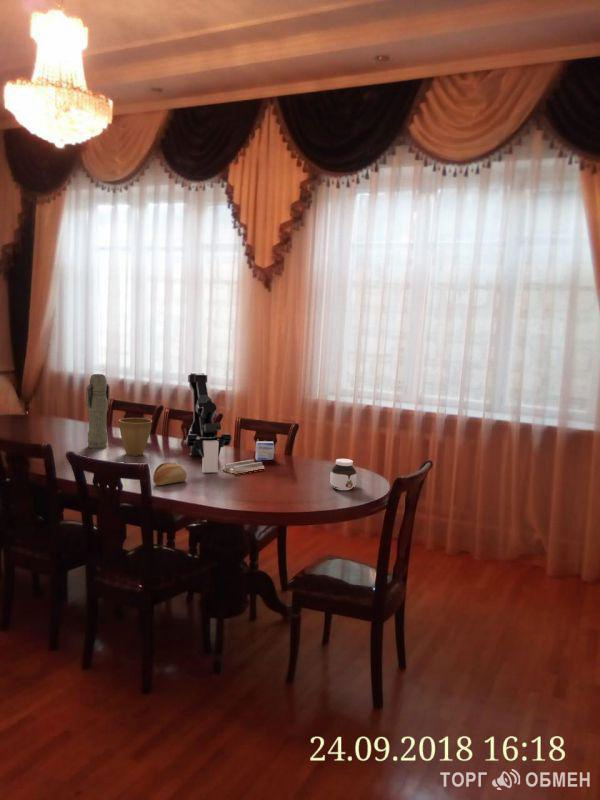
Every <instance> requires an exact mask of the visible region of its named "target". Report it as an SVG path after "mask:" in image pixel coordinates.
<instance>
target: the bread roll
mask: <svg viewBox="0 0 600 800" xmlns="http://www.w3.org/2000/svg"><path fill="white" fill-rule="evenodd" d="M187 475H188V474H187V472H186V470H185V468H184V467H183V466H182V465H180V464H178V463H176V462H163V463H161V464H159V465H158V466H157V467H156V468H155V470H154V472H153V475H152V476H153V477H152V478H153V479H152V480H153V484H154V485H157V486H164V485H169V484H175V483H182V482H185V481H186V480H187V477H188V476H187Z"/></svg>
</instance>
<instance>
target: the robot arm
mask: <svg viewBox="0 0 600 800" xmlns="http://www.w3.org/2000/svg"><path fill="white" fill-rule="evenodd" d="M187 383H189V388H190V390H192V406H193V407H192V411H193V412H192V413H193V415H192V416H193V417H192V419H193V421H192V424H191V426H190V428H189V430H188V434H187V435H186V440H185V446H186V447H190V453H189V454H188V456H189V457H202V459H203V458H204V452H203V441H211V440H217V441H218V442H219V447H218V458H219V457H220V453H221V449H222V448H223V447H226V446H227V447H228V446H230V444H231V442H232V435H231V434H230V433H221V435H220V436H217V431H221V429H222V423H221V421H219V422H218V421H216V422H215V423H214V418H215V415H216V411H217V406H216V403H214V402H213V400H212V398H210V396H209V394H208V393H209V392H208V388H207V383H208V375H207V374H205V373H204V372H190V374H188V375H187Z"/></svg>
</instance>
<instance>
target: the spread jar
mask: <svg viewBox="0 0 600 800" xmlns="http://www.w3.org/2000/svg"><path fill="white" fill-rule="evenodd" d="M353 462H354V461H353V460H352V459H350V458H337V459H336V460H335V464H334V465H332V468H331V470H330V478H329V480H330V486H331V487H332V486H333V487H335V488H351V487H354V488H355V487H356V484H357V470H356V468H355V466H354V464H353ZM333 487H332V488H333Z"/></svg>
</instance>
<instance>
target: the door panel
mask: <svg viewBox="0 0 600 800" xmlns="http://www.w3.org/2000/svg"><path fill="white" fill-rule="evenodd" d="M218 447H219V442H218V441H217V440H211V441H203V452H204V458H203V457H202V459H201V461H202V462H201V463H202V467H201V471H202V473H218V470H219V468H218V467H219V457H218Z"/></svg>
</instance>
